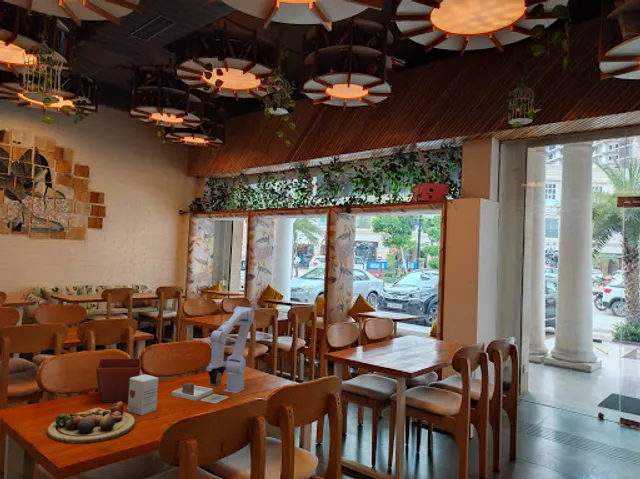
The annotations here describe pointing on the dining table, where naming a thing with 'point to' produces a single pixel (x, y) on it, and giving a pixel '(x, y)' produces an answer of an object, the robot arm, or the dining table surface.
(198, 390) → the parts tray
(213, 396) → the sage mat
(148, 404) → the supplement box
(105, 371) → the plant pot
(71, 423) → the wooden plate with food
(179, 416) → the dining table surface
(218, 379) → the labelled block
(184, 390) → the plain block
